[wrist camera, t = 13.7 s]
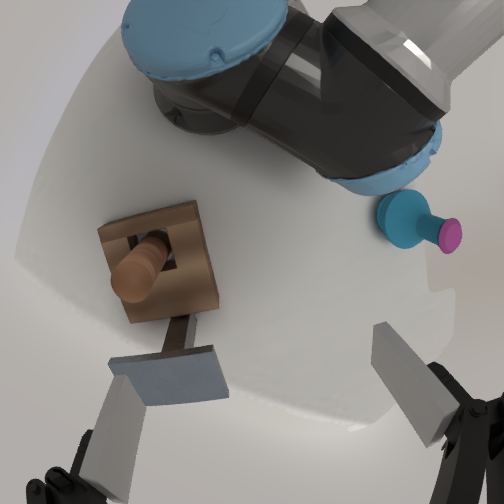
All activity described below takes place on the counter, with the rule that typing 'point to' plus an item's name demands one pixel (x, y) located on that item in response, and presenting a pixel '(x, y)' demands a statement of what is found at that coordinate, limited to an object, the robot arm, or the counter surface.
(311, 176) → the counter surface
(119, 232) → the socket board
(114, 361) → the grey t-shaped block
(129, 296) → the peg
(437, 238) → the perfume bottle
